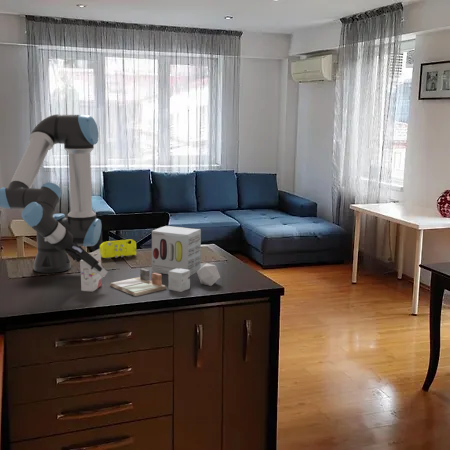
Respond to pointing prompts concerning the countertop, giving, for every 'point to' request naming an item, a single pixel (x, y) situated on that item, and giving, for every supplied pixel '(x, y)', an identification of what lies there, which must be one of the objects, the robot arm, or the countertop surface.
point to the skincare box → (179, 279)
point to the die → (208, 274)
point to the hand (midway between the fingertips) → (98, 272)
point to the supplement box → (176, 249)
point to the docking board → (141, 284)
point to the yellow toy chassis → (118, 248)
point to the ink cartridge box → (90, 274)
